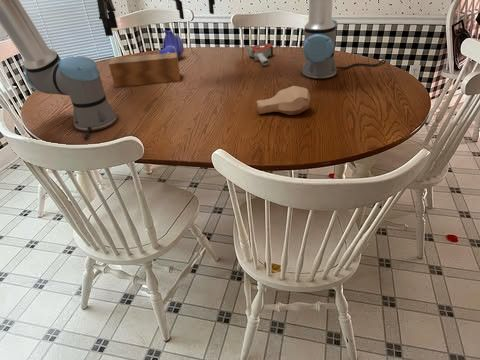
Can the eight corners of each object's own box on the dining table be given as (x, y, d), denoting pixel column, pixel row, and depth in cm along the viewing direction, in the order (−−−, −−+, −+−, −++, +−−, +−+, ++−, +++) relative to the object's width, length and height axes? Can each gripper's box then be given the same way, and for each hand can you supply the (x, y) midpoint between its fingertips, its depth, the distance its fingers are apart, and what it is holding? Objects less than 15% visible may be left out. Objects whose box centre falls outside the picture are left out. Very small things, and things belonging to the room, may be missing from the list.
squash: (314, 116, 128) (313, 95, 122) (259, 125, 130) (256, 105, 124) (308, 99, 136) (307, 78, 129) (257, 108, 138) (253, 88, 131)
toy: (171, 62, 199) (152, 68, 177) (167, 30, 192) (146, 32, 170) (188, 61, 197) (171, 67, 175) (184, 29, 190) (166, 30, 168)
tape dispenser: (265, 70, 173) (284, 55, 186) (265, 59, 170) (284, 45, 183) (235, 63, 181) (255, 50, 193) (235, 53, 177) (255, 40, 190)
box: (114, 87, 162) (108, 63, 155) (117, 81, 168) (111, 58, 162) (180, 80, 164) (176, 57, 158) (180, 75, 171) (176, 52, 164)
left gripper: (101, -23, 130) (116, 38, 142) (112, -30, 150) (124, 24, 162) (80, -21, 129) (97, 40, 141) (94, -28, 149) (108, 25, 162)
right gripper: (215, -47, 143) (219, 10, 156) (156, -42, 134) (165, 19, 146) (223, -47, 138) (227, 12, 150) (162, -41, 128) (172, 22, 141)
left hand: (112, 31), depth 152 cm, fingers open, 13 cm apart
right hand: (197, 16), depth 148 cm, fingers open, 13 cm apart
